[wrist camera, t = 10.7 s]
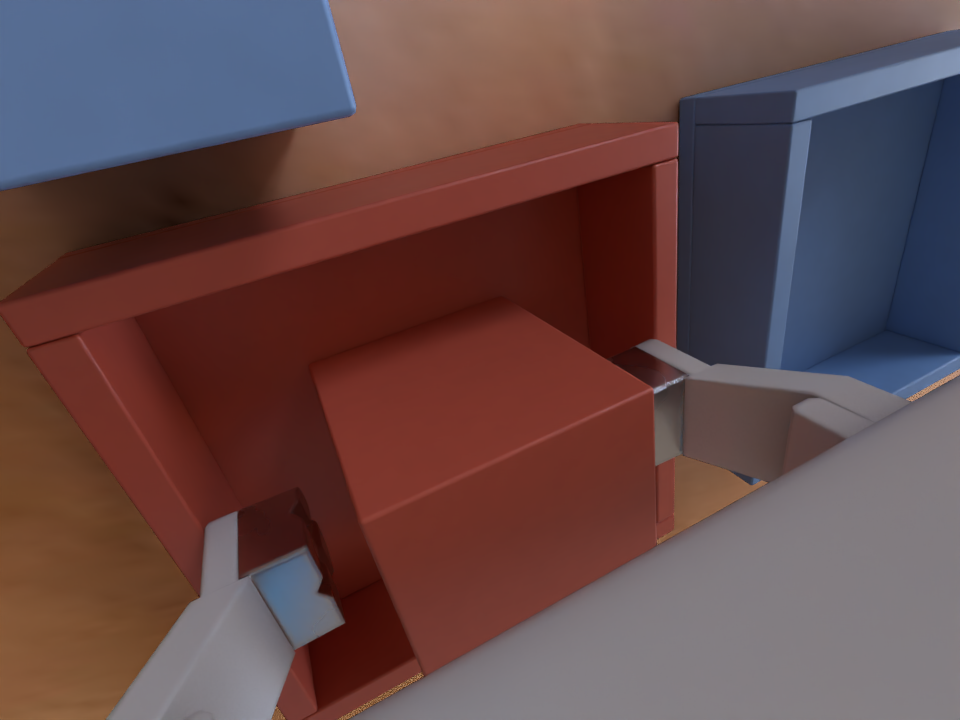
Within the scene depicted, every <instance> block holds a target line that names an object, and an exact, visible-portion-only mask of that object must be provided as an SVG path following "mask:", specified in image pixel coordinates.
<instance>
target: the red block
mask: <svg viewBox="0 0 960 720" xmlns="http://www.w3.org/2000/svg"><path fill="white" fill-rule="evenodd" d="M308 368H309V371H310V374H311V377H312V380H313V383H314V386H315V389H316V393H317V396H318V399H319V402H320V405H321V408H322V411H323V414H324V417H325V420H326V424H327V427H328V430H329V433H330V436H331V439H332V442H333V445H334V448H335V452H336V455H337V458H338V461H339V464H340V467H341V470H342V473H343V476H344V479H345V483H346V486H347V489H348V492H349V495H350V498H351V501H352V504H353V507H354V510H355V514H356V517H357V520H358V523H359V526H360V528H361V530H362V533H363V535H364V537H365V540H366V542H367V544H368V547H369V549H370V551H371V554H372V556H373V558H374V561H375V563H376V565H377V568H378V570H379V572H380V575H381V577H382V579H383V582H384V584H385V586H386V589H387V591H388V593H389V596H390V598H391V600H392V603H393V605H394V607H395V610H396V612H397V614H398V617H399V619H400V621H401V624H402V626H403V628H404V631H405V633H406V635H407V638H408V640H409V642H410V645H411V647H412V649H413V652H414V654H415V656H416V659H417V661H418V663H419V666H420V668H421V671H422V673H423V675H424V676H426V675H428V674H430V673H431V672H433V671H435V670H437V669H439V668H440V667H442V666H444V665H446V664H447V663H449V662H451V661H453V660H454V659H456V658H458V657H460V656H462V655H463V654H465V653H467V652H469V651H470V650H472V649H474V648H476V647H478V646H479V645H481V644H483V643H485V642H486V641H488V640H490V639H492V638H494V637H495V636H497V635H499V634H501V633H502V632H504V631H506V630H508V629H510V628H511V627H513V626H515V625H517V624H518V623H520V622H522V621H524V620H526V619H527V618H529V617H531V616H533V615H534V614H536V613H538V612H540V611H542V610H543V609H545V608H547V607H549V606H550V605H552V604H554V603H556V602H558V601H559V600H561V599H563V598H565V597H566V596H568V595H570V594H572V593H574V592H575V591H577V590H579V589H581V588H582V587H584V586H586V585H588V584H589V583H591V582H593V581H595V580H597V579H598V578H600V577H602V576H604V575H605V574H607V573H609V572H611V571H613V570H614V569H616V568H618V567H620V566H621V565H623V564H625V563H627V562H629V561H630V560H632V559H634V558H636V557H637V556H639V555H641V554H643V553H645V552H646V551H648V550H650V549H652V548H653V547H655V546H657V533H656V479H655V426H654V390H653V388H652V387H651V386H649V385H648V384H646V383H644V382H643V381H641V380H639V379H638V378H636V377H634V376H633V375H631V374H630V373H628V372H626V371H625V370H623V369H621V368H620V367H618V366H616V365H615V364H613V363H611V362H610V361H608V360H607V359H605V358H603V357H602V356H600V355H598V354H597V353H595V352H593V351H592V350H590V349H589V348H587V347H585V346H584V345H582V344H580V343H579V342H577V341H575V340H574V339H572V338H570V337H569V336H567V335H566V334H564V333H562V332H561V331H559V330H557V329H556V328H554V327H552V326H551V325H549V324H548V323H546V322H544V321H543V320H541V319H539V318H538V317H536V316H534V315H533V314H531V313H530V312H528V311H526V310H525V309H523V308H521V307H520V306H518V305H516V304H515V303H513V302H511V301H510V300H508V299H507V298H505V297H503V296H500V297H497V298H494V299H491V300H489V301H486V302H483V303H480V304H477V305H474V306H472V307H469V308H466V309H463V310H460V311H458V312H455V313H452V314H449V315H446V316H443V317H441V318H438V319H435V320H432V321H429V322H427V323H424V324H421V325H418V326H415V327H412V328H410V329H407V330H404V331H401V332H398V333H396V334H393V335H390V336H387V337H384V338H381V339H379V340H376V341H373V342H370V343H367V344H365V345H362V346H359V347H356V348H353V349H351V350H348V351H345V352H342V353H339V354H336V355H334V356H331V357H328V358H325V359H322V360H320V361H317V362H314V363H311V364H309V367H308Z"/></svg>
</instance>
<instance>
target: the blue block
mask: <svg viewBox="0 0 960 720" xmlns="http://www.w3.org/2000/svg"><path fill="white" fill-rule="evenodd" d="M354 113H356V102H355V99H354V95H353V91H352V87H351V84H350V80H349V76H348V73H347V69H346V65H345V61H344V58H343V54H342V50H341V47H340V43H339V39H338V35H337V32H336V28H335V24H334V21H333V17H332V13H331V9H330V6H329V2H328V0H0V191H4V190H9V189H13V188H18V187H23V186H27V185H32V184H37V183H41V182H46V181H51V180H55V179H60V178H65V177H69V176H74V175H79V174H83V173H88V172H93V171H98V170H102V169H107V168H112V167H116V166H121V165H126V164H130V163H135V162H140V161H144V160H149V159H154V158H158V157H163V156H168V155H172V154H177V153H182V152H186V151H191V150H196V149H201V148H205V147H210V146H215V145H219V144H224V143H229V142H233V141H238V140H243V139H247V138H252V137H257V136H261V135H266V134H271V133H275V132H280V131H285V130H289V129H294V128H299V127H304V126H308V125H313V124H318V123H322V122H327V121H332V120H336V119H341V118H346V117H350V116H352V115H353V114H354Z"/></svg>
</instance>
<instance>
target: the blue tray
mask: <svg viewBox="0 0 960 720" xmlns="http://www.w3.org/2000/svg"><path fill="white" fill-rule="evenodd" d="M677 350H679V351H681V352H683V353H685V354H687V355H690V356H692V357H694V358H696V359H698V360H700V361H702V362H704V363H706V364H708V365H710V366H713V365H715V364H726V365H737V366H747V367H758V368H768V369H779V370H789V371H800V372H810V373H821V374H831V375H842V376H849V377H852V378H854V379H857V380H859V381H862V382H864V383H866V384H869V385H871V386H874V387H876V388H879V389H881V390H884V391H886V392H889V393H891V394H894V395H896V396H899V397H901V398H903V399H907V398H908V397H910V396H912V395H914V394H916V393H917V392H919V391H921V390H923V389H924V388H926V387H928V386H930V385H932V384H933V383H935V382H937V381H939V380H940V379H942V378H944V377H946V376H948V375H949V374H951V373H953V372H955V371H956V370H958V369H960V29H958V30H951V31H946V32H942V33H938V34H934V35H930V36H926V37H922V38H918V39H914V40H910V41H906V42H902V43H898V44H894V45H890V46H886V47H882V48H878V49H874V50H870V51H867V52H863V53H859V54H855V55H851V56H847V57H843V58H839V59H835V60H831V61H827V62H823V63H819V64H815V65H811V66H807V67H803V68H799V69H795V70H791V71H787V72H783V73H779V74H775V75H771V76H767V77H763V78H759V79H755V80H751V81H747V82H743V83H739V84H735V85H731V86H727V87H723V88H719V89H716V90H712V91H708V92H704V93H700V94H696V95H692V96H688V97H684V98H681V99H680V120H679V205H678V289H677ZM729 471H730V470H729ZM731 472H732V473H734V474H735V475H737V476H738V477H740V478H741V479H742V480H744V481H745V482H747V483H748V484H750V485H754V484H756V483H757V482H759V481H761V480H759V479H756V478H753V477H749V476H746V475H743V474H740V473H737V472H734V471H731Z"/></svg>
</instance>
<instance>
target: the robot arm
mask: <svg viewBox="0 0 960 720" xmlns="http://www.w3.org/2000/svg"><path fill="white" fill-rule="evenodd" d="M607 360H608V361H610V362H611V363H613V364H615V365H616V366H618V367H620V368H621V369H623V370H625V371H626V372H628V373H630V374H631V375H633V376H634V377H636V378H638V379H639V380H641V381H643V382H644V383H646V384H648V385H649V386H651V387H652V388H653V390H654V426H655V466H657V465H659V464H661V463H663V462H666V461H668V460H670V459H672V458H674V457H676V456H678V455H681V454H683V456H686V457H689V458H692V459H695V460H699V461H702V462H705V463H708V464H711V465H714V466H718V467H721V468H724V469H727V470H730V471H734V472H737V473H740V474H743V475H746V476H749V477H753V478H756V479H759V480H762V481H765V482H768V483H767V484H765V485H764V486H762V487H760V488H758V489H757V490H755V491H753V492H751V493H749V494H748V495H746V496H744V497H742V498H741V499H739V500H737V501H735V502H733V503H732V504H730V505H728V506H726V507H725V508H723V509H721V510H719V511H717V512H716V513H714V514H712V515H710V516H709V517H707V518H705V519H703V520H701V521H700V522H698V523H696V524H694V525H693V526H691V527H689V528H687V529H685V530H684V531H682V532H680V533H678V534H677V535H675V536H673V537H671V538H669V539H668V540H666V541H664V542H662V543H661V544H659V545H657V546H655V547H653V548H652V549H650V550H648V551H646V552H645V553H643V554H641V555H639V556H637V557H636V558H634V559H632V560H630V561H629V562H627V563H625V564H623V565H621V566H620V567H618V568H616V569H614V570H613V571H611V572H609V573H607V574H605V575H604V576H602V577H600V578H598V579H597V580H595V581H593V582H591V583H589V584H588V585H586V586H584V587H582V588H581V589H579V590H577V591H575V592H574V593H572V594H570V595H568V596H566V597H565V598H563V599H561V600H559V601H558V602H556V603H554V604H552V605H550V606H549V607H547V608H545V609H543V610H542V611H540V612H538V613H536V614H534V615H533V616H531V617H529V618H527V619H526V620H524V621H522V622H520V623H518V624H517V625H515V626H513V627H511V628H510V629H508V630H506V631H504V632H502V633H501V634H499V635H497V636H495V637H494V638H492V639H490V640H488V641H486V642H485V643H483V644H481V645H479V646H478V647H476V648H474V649H472V650H470V651H469V652H467V653H465V654H463V655H462V656H460V657H458V658H456V659H454V660H453V661H451V662H449V663H447V664H446V665H444V666H442V667H440V668H439V669H437V670H435V671H433V672H431V673H430V674H428V675H426V676H424V677H423V678H421V679H419V680H417V681H415V682H414V683H412V684H410V685H408V686H407V687H405V688H403V689H401V690H399V691H398V692H396V693H394V694H392V695H391V696H389V697H387V698H385V699H383V700H382V701H380V702H378V703H376V704H375V705H373V706H371V707H369V708H367V709H366V710H364V711H362V712H360V713H359V714H357V715H355V716H353V717H351V718H350V719H348V720H960V375H959V376H957V377H956V378H954V379H952V380H950V381H948V382H947V383H945V384H943V385H941V386H940V387H938V388H936V389H934V390H932V391H931V392H929V393H927V394H925V395H924V396H922V397H920V398H918V399H916V400H915V401H913V402H911V401H908V400H906V399H903V398H901V397H899V396H896V395H894V394H891V393H889V392H886V391H884V390H881V389H879V388H876V387H874V386H871V385H869V384H866V383H864V382H862V381H859V380H857V379H854V378H852V377H849V376H842V375H831V374H821V373H810V372H800V371H789V370H779V369H768V368H758V367H747V366H737V365H726V364H715V365H713V366H710V365H708V364H706V363H704V362H702V361H700V360H698V359H696V358H694V357H692V356H690V355H687V354H685V353H683V352H681V351H679V350H677V349H675V348H673V347H671V346H669V345H667V344H665V343H663V342H661V341H659V340H656V339H649V340H647V341H645V342H643V343H640V344H638V345H636V346H634V347H632V348H630V349H629V350H626V351H624V352H622V353H619V354H617V355H615V356H612V357H610V358H608V359H607ZM333 572H334V570H333V565H332V561H331V558H330V555H329V551H328V548H327V545H326V542H325V540H324V537H323V535H322V532H321V530H320V528H319V526H318V524H317V522H316V521H314V520H311V515H310V510H309V506H308V503H307V501H306V499H305V497H304V495H303V493H302V491H301V489H300V488H299V487H296V488H293V489H291V490H288V491H286V492H283V493H280V494H278V495H275V496H273V497H270V498H268V499H265V500H263V501H260V502H258V503H255V504H252V505H250V506H247V507H245V508H242V509H240V511H235V512H232V513H230V514H228V515H225V516H223V517H220V518H218V519H215V520H213V521H211V522H209V523H208V524H207V526H206V528H205V532H204V546H203V560H202V573H201V587H200V598H198V599H196V600H194V601H192V602H190V603H189V604H188V606H187V607H186V608H185V610H184V611H183V613H182V614H181V615H180V617H179V618H178V620H177V621H176V622H175V624H174V625H173V626H172V628H171V629H170V631H169V632H168V633H167V635H166V636H165V638H164V639H163V640H162V642H161V643H160V645H159V646H158V647H157V649H156V650H155V652H154V653H153V654H152V656H151V657H150V658H149V660H148V661H147V663H146V664H145V665H144V667H143V668H142V670H141V671H140V672H139V674H138V675H137V677H136V678H135V679H134V681H133V682H132V684H131V685H130V686H129V688H128V689H127V690H126V692H125V693H124V695H123V696H122V697H121V699H120V700H119V702H118V703H117V704H116V706H115V707H114V709H113V710H112V711H111V713H110V714H109V716H108V717H107V718H106V720H271V719H272V716H273V713H274V710H275V708H276V705H277V702H278V700H279V697H280V694H281V691H282V689H283V686H284V683H285V681H286V678H287V675H288V672H289V670H290V667H291V664H292V661H293V659H294V656H295V651H294V650H296V649H298V648H299V647H301V646H303V645H305V644H307V643H309V642H311V641H312V640H314V639H316V638H318V637H320V636H322V635H324V634H325V633H327V632H329V631H331V630H333V629H335V628H337V627H339V626H340V625H342V624H344V623H345V619H344V614H343V609H342V605H341V600H340V596H339V591H338V589H337V587H336V585H335V583H334V581H333V579H332V575H333Z"/></svg>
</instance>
